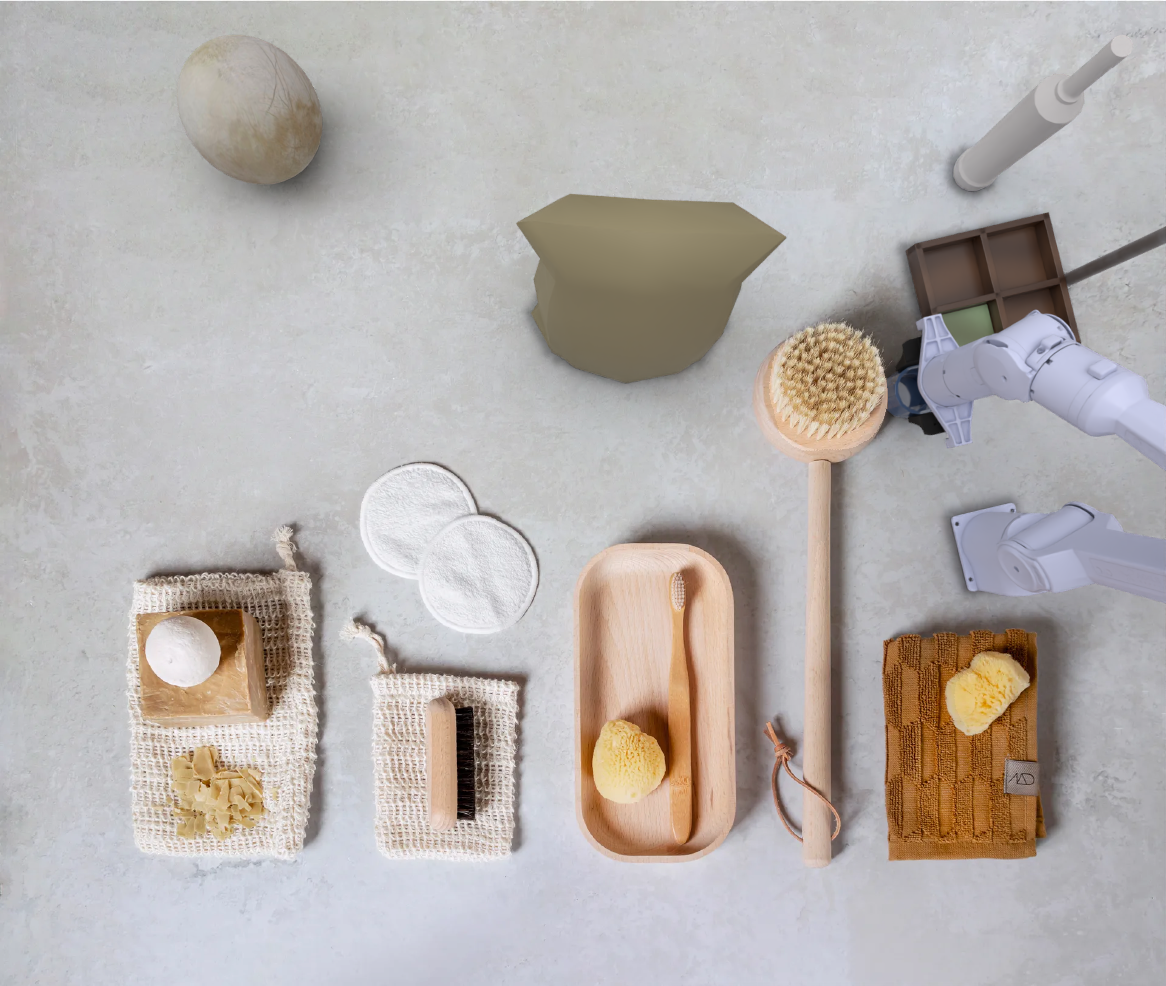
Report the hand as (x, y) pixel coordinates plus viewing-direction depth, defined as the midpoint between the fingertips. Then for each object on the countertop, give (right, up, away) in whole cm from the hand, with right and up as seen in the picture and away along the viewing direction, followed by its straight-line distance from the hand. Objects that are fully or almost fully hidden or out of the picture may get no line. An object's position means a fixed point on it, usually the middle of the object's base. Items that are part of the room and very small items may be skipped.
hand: (909, 392), depth 88 cm
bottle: (+9, +28, +3) cm, 29 cm away
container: (-34, +9, +2) cm, 35 cm away
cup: (0, 0, +2) cm, 2 cm away
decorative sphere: (-77, +31, +2) cm, 83 cm away
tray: (+12, +12, +2) cm, 17 cm away
